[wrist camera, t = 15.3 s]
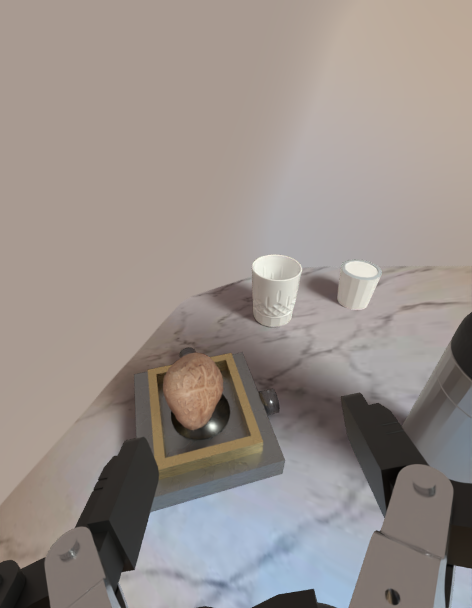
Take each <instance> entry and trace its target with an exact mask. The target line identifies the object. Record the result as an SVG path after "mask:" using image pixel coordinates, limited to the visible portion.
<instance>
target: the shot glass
mask: <svg viewBox="0 0 472 608" xmlns="http://www.w3.org/2000/svg"><path fill="white" fill-rule="evenodd" d="M381 274H382V271H381V269H380V268H379V267H378V266H377V265H375V264H373V263H371V262H368V261H364V260H356V259H354V260H348V261H345V262H343V264H342V265H341V270H340V278H339V286H338V294H337V300H338V302H339V303H340V304H341V305H342V306H344V307H345V308H348V309H352V310H361V309H364V308H366V307H367V305H368V303H369V301H370V299H371V296H372V294H373V292H374V290H375V288H376V285H377V283H378V281H379V279H380V277H381Z"/></svg>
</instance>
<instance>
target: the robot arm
mask: <svg viewBox="0 0 472 608" xmlns="http://www.w3.org/2000/svg"><path fill="white" fill-rule="evenodd" d="M341 403H342V409H343V414H344V420H345V426H346V431H347V435H348V438H349V441H350V444H351V446H352V448H353V450H354V453H355V455H356V457H357V459H358V461H359V464H360V466H361V468H362V470H363V472H364V475H365V477H366V479H367V481H368V483H369V486H370V488H371V490H372V492H373V494H374V496H375V499H376V501H377V503H378V505H379V507H380V510H381V512H382V514H383V516H384V518H385V519H384V522H383V526H382V528H381V530H380V532H379V531H377V530H376V531H375V532H374V533H373V535H372V537H371V540H370V543H369V546H368V549H367V552H366V555H365V558H364V561H363V565H362V568H361V571H360V574H359V577H358V580H357V583H356V586H355V589H354V592H353V595H352V599H351V602H350V605H349V608H451V604H452V595H453V586H454V577H455V568H456V566H461V567H466V568H472V312H471V313H470V314H469V315H467V316H466V317H465V318H464V320H463V321H462V322H461V324H460V325H459V327H458V329H457V330H456V332H455V334H454V336H453V338H452V340H451V341H450V343H449V345H448V346H447V348H446V350H445V352H444V353H443V355H442V357H441V359H440V360H439V362H438V364H437V366H436V368H435V369H434V371H433V373H432V375H431V376H430V378H429V380H428V382H427V383H426V385H425V387H424V389H423V390H422V392H421V394H420V395H419V397H418V399H417V401H416V402H415V404H414V406H413V408H412V409H411V411H410V413H409V415H408V416H407V418H406V420H405V422H404V423H403V425H402V426H401V425H400V424H399V423H398V421H397V419H396V418H395V417H394V415H393V414H392V412H391V411H390V410H388V409H387V408H385V407H384V406H382V405H381V404H379V403H376V404H372V405H368V403H367V402H366V400H365V399H364V397H363V395H362V394H361V393H355V394H351V395H346V396H341ZM158 481H159V470H158V465H157V463H156V460H155V458H154V456H153V453H152V451H151V448H150V446H149V444H148V441H147V439H146V438H145V437H140V438H135V439H130V440H126V441H125V442H124V443H123V445H122V447H121V450H120V452H119V454H118V456H114V457H113V458H112V459H111V460H110V461H109V462H108V463H107V465H106V466H105V467H104V469H103V471H102V473H101V475H100V477H99V479H98V482H97V483H96V485H95V487H94V491H93V492H92V493H91V495H90V497H89V500H88V502H87V504H86V506H85V508H84V510H83V512H82V514H81V516H80V518H79V520H78V522H77V524H76V526H75V528H74V529H71V530H69V531H68V532H66V533H65V534H63V535H62V536H61V537H60V538H59V539H58V540H57V541H56V542H55V543H54V544H53V545H52V547H51V548H50V550H49V551H48V553H47V555H46V557H45V558H43V559H41V560H39V561H36V562H34V563H32V564H30V565H28V566H26V567H24V568H22V569H20V567H19V566H18V564H17V563H16V562H15V561H13V560H7V561H3V562H1V563H0V608H128V605H127V602H126V600H125V597H124V594H123V592H122V589H121V587H120V585H119V583H118V582H119V579H120V576H121V572H125V571H131V570H135V566H136V563H137V559H138V555H139V551H140V548H141V544H142V540H143V537H144V533H145V529H146V526H147V522H148V518H149V514H150V511H151V507H152V503H153V500H154V496H155V492H156V489H157V485H158ZM198 608H212V607H206V606H204V607H198ZM252 608H336V607H334V606H330V605H327V604H323V603H318V602H317V599H316V595H315V591H314V589H310V590H303V591H297V592H291V593H285V594H279V595H276V596H274V597H272V598H270V599H268V600H266V601H264V602H262V603H260V604H258V605H256V606H254V607H252Z"/></svg>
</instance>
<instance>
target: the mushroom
mask: <svg viewBox="0 0 472 608" xmlns="http://www.w3.org/2000/svg"><path fill="white" fill-rule="evenodd" d="M163 381H164V382H163V392H164V397H165V399H166V401H167V404H168V406H169V408H170V409H171V411H172V412H173V413H174V415H175V417H176V419H177V420H178V422H180V423H181V424H182V425H183V426H184V427H185V428H187V429H190V430H193V431H194V430H195V429H198V428H201V427H203V426H204V425H205V424H206V423H207V422H208V421H209V419H210V417H212V414H213V412H214V409H215V407H216V405H217V403H218V402H219V400H220V398H221V395H222V392H223V391H224V390H223V378H222V374H221V372H220V370H219V368H218V367H217V366H216V364H215V362H214V361H213V360H212V359H211V358H210V357H208V356H207V355H205V354H202V353H196V352H195V353H190V354H187V355H185V356H183V357H182V358H180V359H179V360H177V361H176V362H175V363H174V364H173V365H172V366H171V367H170V368H169V369H168V371H167V372H166V375H165V377H164V380H163Z"/></svg>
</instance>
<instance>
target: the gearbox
mask: <svg viewBox="0 0 472 608" xmlns="http://www.w3.org/2000/svg"><path fill="white" fill-rule="evenodd" d="M195 352H196V351H195V350H194V349H193V348H185V349H183V350H181V352H180V354H179V355H180V358H182V357H183V356H185V355H187V354H190V353H195ZM210 358H211V359H212V360H213V361H214V362H215V364H216V366H217V367H218V368H219V370H220V372H221V374H222V378H223V390H224V391H223V392H222V395H221V398H220V400H219V402H218V403H217V405H216V407H215V409H214V412H213V414H212V417H210V419H209V421H208V422H207V423H206V424H205V425H204V426H203V427H201V428H198V429H195V430H194V431H193V430H190V429H187V428H185V427H184V426H183V425H182V424H181V423H180V422H178V420H177V419H176V417H175V415H174V413H173V412H172V411H171V409H170V408H169V406H168V404H167V401H166V399H165V397H164V392H163V382H164V381H163V380H164V377H165V375H166V372H167V371H168V369H169V368H170V367H171V366H172V365H169V366H164V367H159V368H154V369H149V370H148V372H143V373H138V374H134V386H135V415H136V438H140V437H145V438H146V439H147V441H148V444H149V446H150V448H151V451H152V453H153V456H154V458H155V460H156V463H157V465H158V470H159V481H158V485H157V489H156V492H155V496H154V500H153V503H152V507H151V511H150V512H152V511H156V510H159V509H163V508H166V507H169V506H173V505H176V504H180V503H183V502H187V501H190V500H193V499H197V498H200V497H204V496H207V495H211V494H214V493H217V492H221V491H224V490H228V489H231V488H235V487H238V486H241V485H245V484H248V483H252V482H255V481H258V480H262V479H265V478H269V477H272V476H276V475H279V474H282V473H283V468H284V463H285V459H284V456H283V454H282V451H281V449H280V446H279V444H278V441H277V439H276V436H275V434H274V431H273V429H272V426H271V423H270V421H269V418H268V416H267V415H270V414H274V413H278V412H279V402H278V398H277V395H276V392H275V391H274V389H268V390H264V391H259V392H258V391H257V388H256V386H255V383H254V381H253V378H252V375H251V373H250V370H249V368H248V365H247V363H246V360H245V358H244V355H243V353H237V354H232V353H228V354H223V355H219V356H214V357H210Z"/></svg>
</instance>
